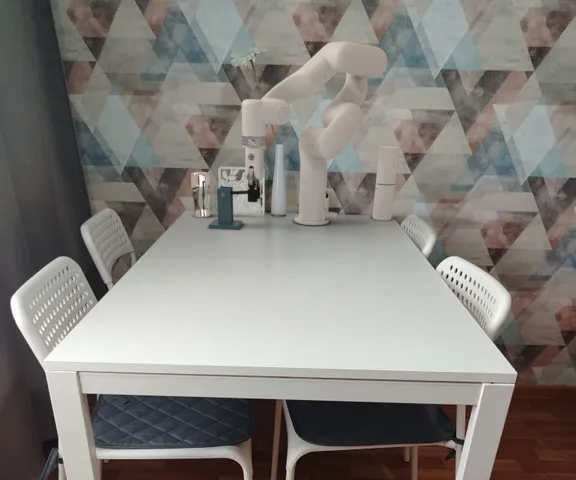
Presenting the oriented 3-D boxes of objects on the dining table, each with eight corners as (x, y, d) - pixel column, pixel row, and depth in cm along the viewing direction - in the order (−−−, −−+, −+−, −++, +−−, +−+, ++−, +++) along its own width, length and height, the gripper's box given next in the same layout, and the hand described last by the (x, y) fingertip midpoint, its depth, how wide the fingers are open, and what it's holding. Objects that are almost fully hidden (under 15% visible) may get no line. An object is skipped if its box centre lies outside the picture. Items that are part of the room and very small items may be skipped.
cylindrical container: (382, 221, 204) (389, 148, 192) (368, 217, 209) (375, 146, 197) (395, 218, 208) (403, 147, 196) (381, 215, 213) (389, 145, 201)
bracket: (242, 223, 195) (241, 186, 189) (237, 229, 187) (236, 190, 181) (214, 222, 196) (213, 184, 190) (209, 228, 188) (207, 189, 182)
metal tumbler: (210, 218, 202) (208, 175, 194) (191, 217, 202) (188, 174, 194) (212, 214, 208) (211, 172, 201) (194, 213, 208) (192, 171, 201)
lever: (257, 194, 188) (256, 186, 187) (255, 196, 183) (254, 189, 182) (223, 195, 189) (222, 188, 188) (219, 198, 185) (219, 191, 184)
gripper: (261, 145, 170) (261, 205, 179) (268, 140, 185) (268, 196, 193) (237, 144, 170) (238, 204, 179) (246, 139, 185) (247, 195, 194)
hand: (254, 199), depth 186 cm, fingers closed on lever, 5 cm apart
